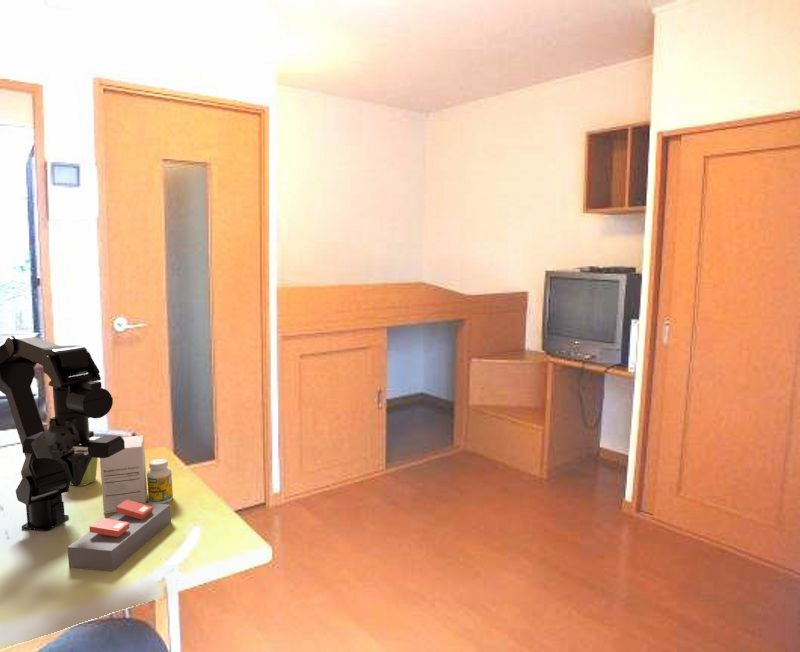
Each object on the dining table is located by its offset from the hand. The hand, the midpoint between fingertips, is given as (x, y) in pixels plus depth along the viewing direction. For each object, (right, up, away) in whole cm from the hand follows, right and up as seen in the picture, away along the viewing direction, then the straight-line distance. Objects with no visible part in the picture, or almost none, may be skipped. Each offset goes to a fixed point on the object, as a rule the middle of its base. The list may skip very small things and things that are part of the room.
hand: (76, 485), depth 117 cm
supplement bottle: (+8, -10, +21) cm, 25 cm away
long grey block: (+9, -12, +3) cm, 15 cm away
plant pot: (-16, -8, +32) cm, 37 cm away
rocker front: (+8, -7, -3) cm, 12 cm away
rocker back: (+10, -6, +4) cm, 12 cm away
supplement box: (+1, -10, +20) cm, 22 cm away
